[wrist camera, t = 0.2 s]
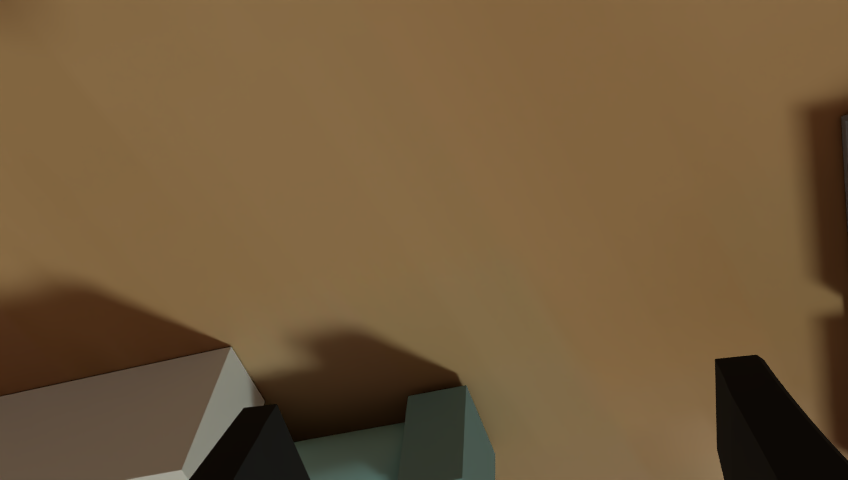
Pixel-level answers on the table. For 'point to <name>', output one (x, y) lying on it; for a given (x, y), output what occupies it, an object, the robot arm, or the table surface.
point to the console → (845, 156)
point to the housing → (125, 421)
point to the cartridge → (409, 445)
